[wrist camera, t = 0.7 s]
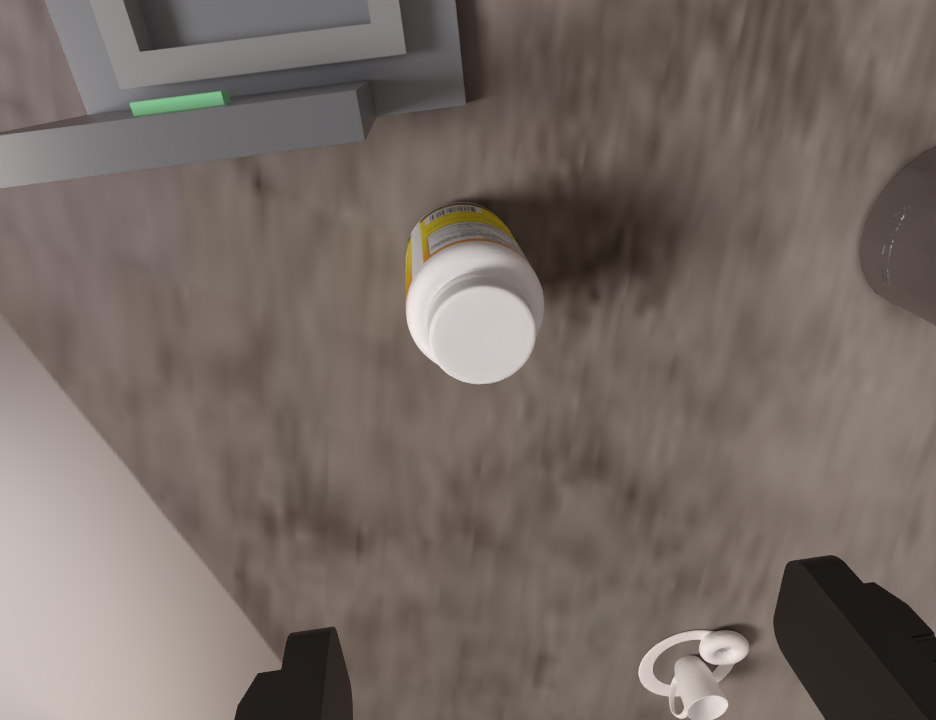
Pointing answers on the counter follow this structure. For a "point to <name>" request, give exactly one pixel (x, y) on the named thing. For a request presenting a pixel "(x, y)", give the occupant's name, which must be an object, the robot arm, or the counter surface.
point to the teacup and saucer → (697, 672)
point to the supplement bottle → (471, 294)
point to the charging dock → (233, 80)
